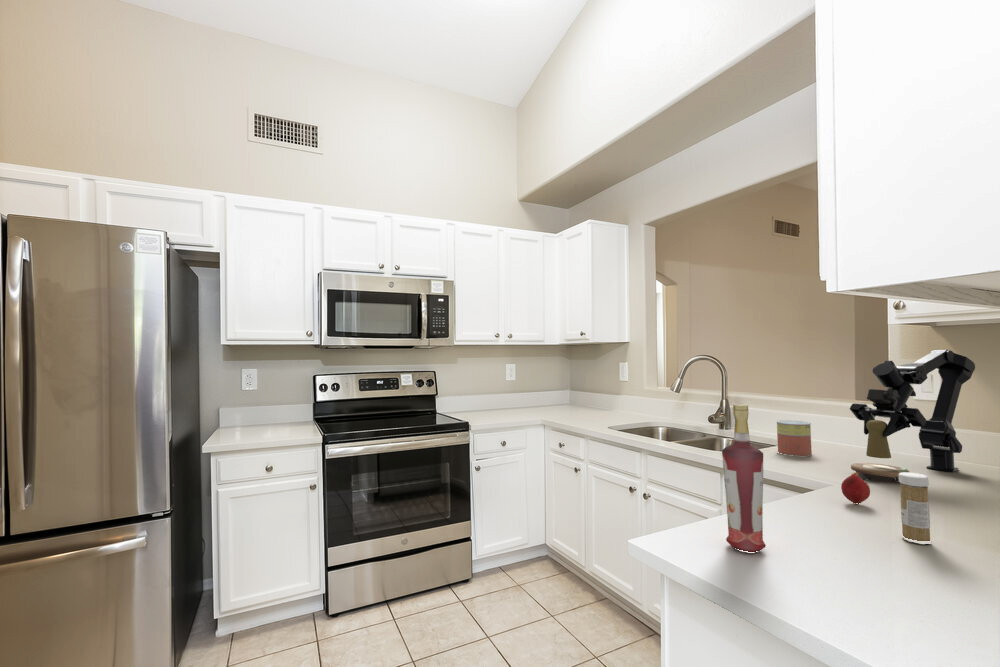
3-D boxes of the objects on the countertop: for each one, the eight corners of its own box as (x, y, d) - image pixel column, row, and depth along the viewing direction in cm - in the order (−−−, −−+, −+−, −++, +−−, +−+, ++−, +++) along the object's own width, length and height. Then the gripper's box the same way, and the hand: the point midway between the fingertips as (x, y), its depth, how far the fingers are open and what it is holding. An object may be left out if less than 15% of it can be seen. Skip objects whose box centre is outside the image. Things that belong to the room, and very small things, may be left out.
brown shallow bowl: (862, 470, 153) (861, 458, 154) (917, 479, 141) (917, 466, 142) (843, 476, 146) (842, 464, 146) (900, 486, 134) (899, 473, 134)
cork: (895, 458, 140) (893, 421, 141) (872, 457, 142) (870, 421, 143) (884, 454, 146) (882, 419, 147) (862, 453, 148) (860, 418, 148)
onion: (858, 509, 115) (857, 476, 115) (836, 502, 120) (834, 470, 121) (876, 506, 116) (874, 474, 117) (853, 500, 122) (851, 469, 122)
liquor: (770, 559, 87) (764, 407, 88) (726, 553, 89) (721, 406, 91) (764, 544, 94) (758, 404, 95) (723, 539, 96) (719, 403, 98)
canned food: (817, 456, 175) (816, 424, 175) (785, 456, 176) (784, 424, 177) (803, 451, 186) (802, 420, 186) (772, 450, 188) (771, 420, 188)
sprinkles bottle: (902, 535, 98) (899, 470, 98) (932, 541, 95) (928, 473, 95) (901, 542, 94) (897, 474, 95) (932, 548, 91) (928, 478, 92)
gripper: (851, 378, 155) (830, 414, 151) (917, 381, 138) (895, 421, 134) (869, 401, 158) (848, 436, 153) (936, 406, 140) (914, 446, 136)
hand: (874, 435), depth 144 cm, fingers closed on cork, 5 cm apart
